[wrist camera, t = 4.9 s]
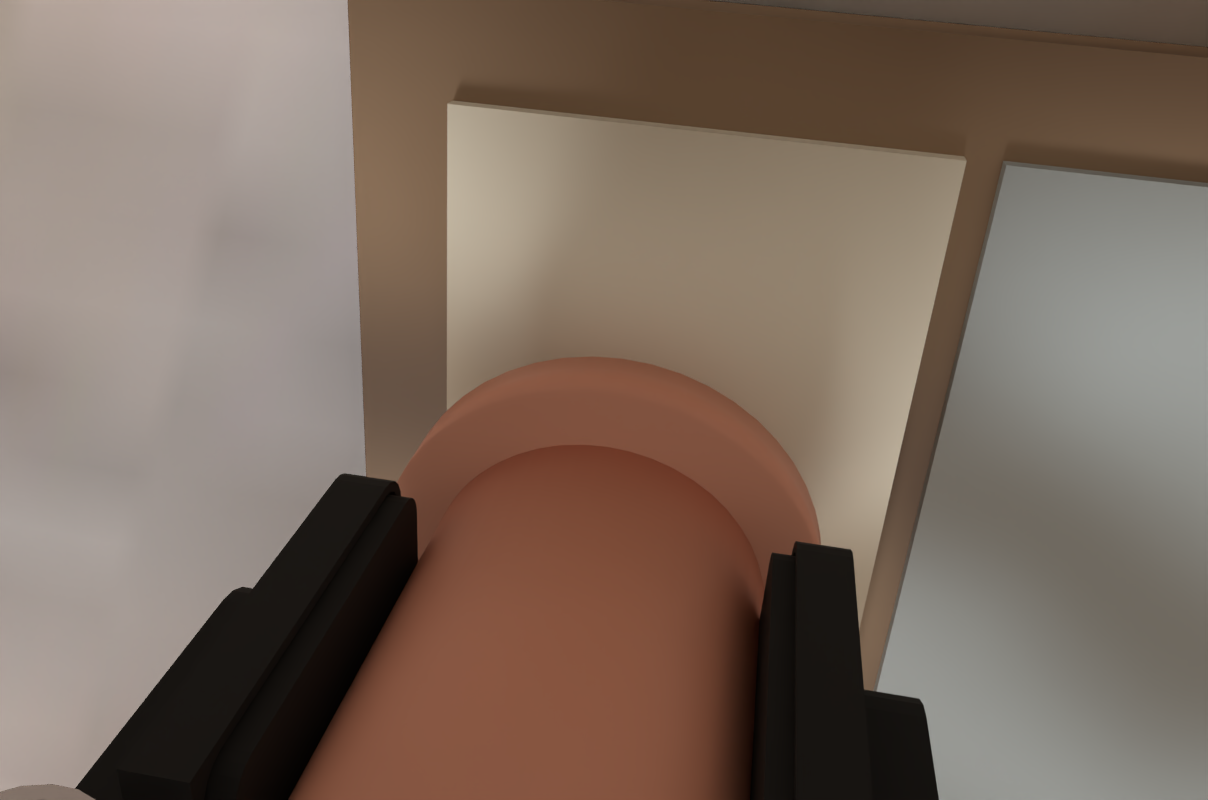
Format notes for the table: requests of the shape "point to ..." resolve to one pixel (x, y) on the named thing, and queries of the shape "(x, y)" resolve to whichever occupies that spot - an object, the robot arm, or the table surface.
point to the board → (848, 319)
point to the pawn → (574, 597)
